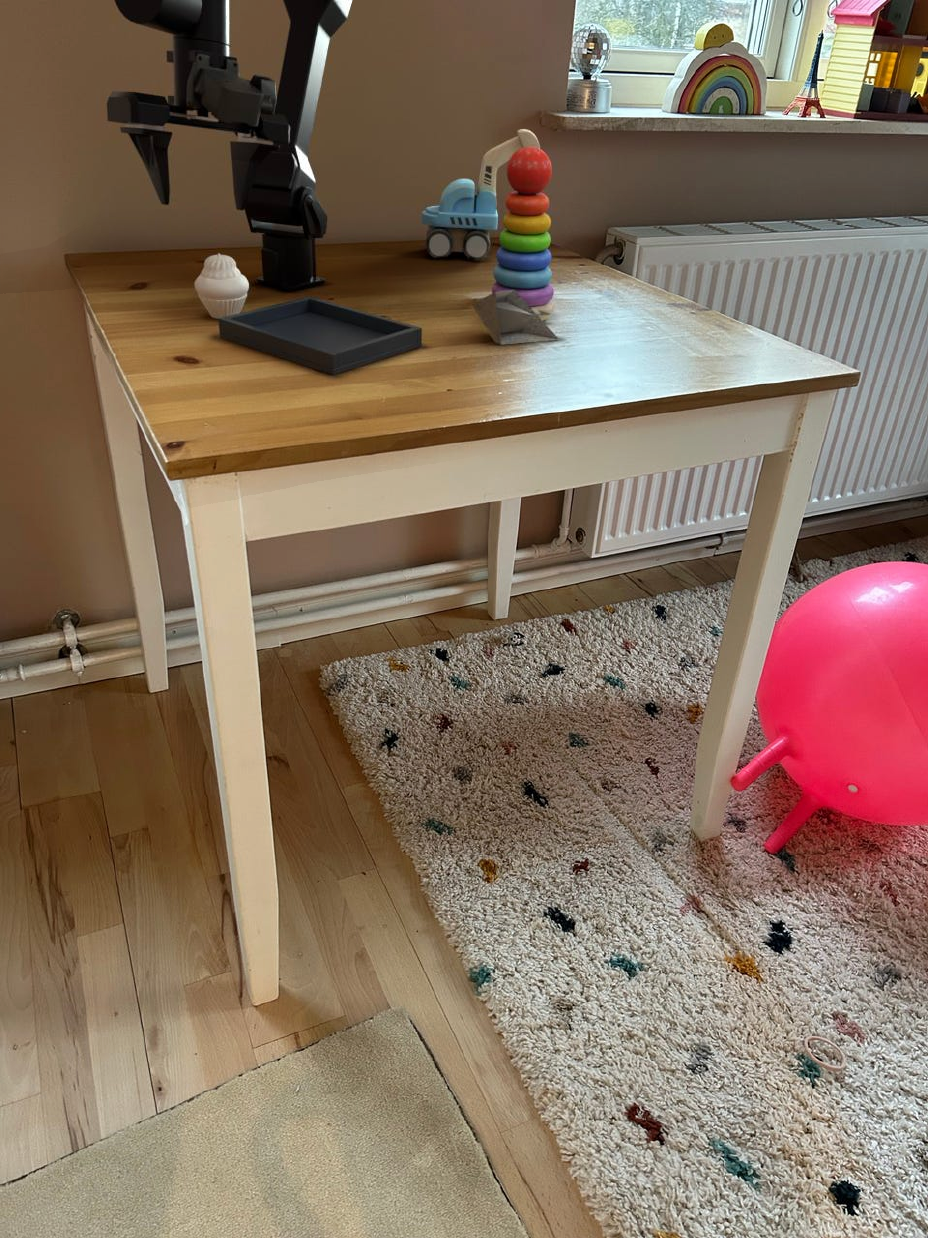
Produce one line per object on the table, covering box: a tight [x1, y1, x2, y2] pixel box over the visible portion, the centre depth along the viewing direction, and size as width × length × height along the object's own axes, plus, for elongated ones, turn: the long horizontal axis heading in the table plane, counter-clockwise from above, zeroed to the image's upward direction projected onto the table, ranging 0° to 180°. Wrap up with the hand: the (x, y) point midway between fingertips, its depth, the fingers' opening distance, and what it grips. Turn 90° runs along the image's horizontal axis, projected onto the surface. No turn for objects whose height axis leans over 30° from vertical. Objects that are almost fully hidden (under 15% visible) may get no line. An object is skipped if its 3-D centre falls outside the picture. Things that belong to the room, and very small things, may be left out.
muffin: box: [193, 252, 250, 320], centre depth 110 cm, size 6×6×7 cm
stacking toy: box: [491, 147, 555, 322], centre depth 112 cm, size 8×8×19 cm
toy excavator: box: [421, 128, 541, 262], centre depth 139 cm, size 9×17×17 cm, turn 89°
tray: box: [217, 296, 423, 376], centre depth 104 cm, size 14×18×2 cm
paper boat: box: [471, 290, 560, 346], centre depth 106 cm, size 12×6×9 cm
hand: (203, 207), depth 104 cm, fingers open, 9 cm apart
